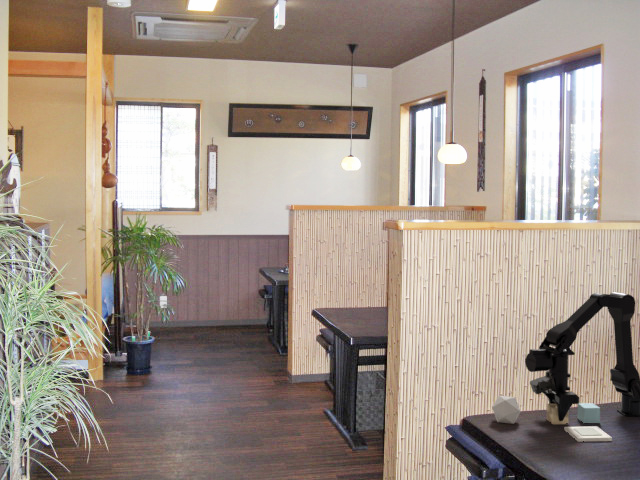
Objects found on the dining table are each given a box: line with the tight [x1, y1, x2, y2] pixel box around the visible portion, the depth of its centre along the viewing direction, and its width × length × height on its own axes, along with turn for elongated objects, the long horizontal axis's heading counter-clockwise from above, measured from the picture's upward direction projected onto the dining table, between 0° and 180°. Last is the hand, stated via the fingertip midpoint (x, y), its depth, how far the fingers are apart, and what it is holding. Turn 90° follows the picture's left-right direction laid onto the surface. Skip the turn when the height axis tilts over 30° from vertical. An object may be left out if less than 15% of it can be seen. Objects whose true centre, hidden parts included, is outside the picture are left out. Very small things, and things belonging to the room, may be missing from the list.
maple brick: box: [546, 403, 570, 425], centre depth 220 cm, size 5×5×5 cm
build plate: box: [563, 425, 613, 443], centre depth 207 cm, size 10×10×1 cm
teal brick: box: [577, 402, 601, 424], centre depth 221 cm, size 5×5×5 cm
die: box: [491, 395, 522, 424], centre depth 220 cm, size 8×9×10 cm
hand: (557, 418), depth 220 cm, fingers closed on maple brick, 5 cm apart
